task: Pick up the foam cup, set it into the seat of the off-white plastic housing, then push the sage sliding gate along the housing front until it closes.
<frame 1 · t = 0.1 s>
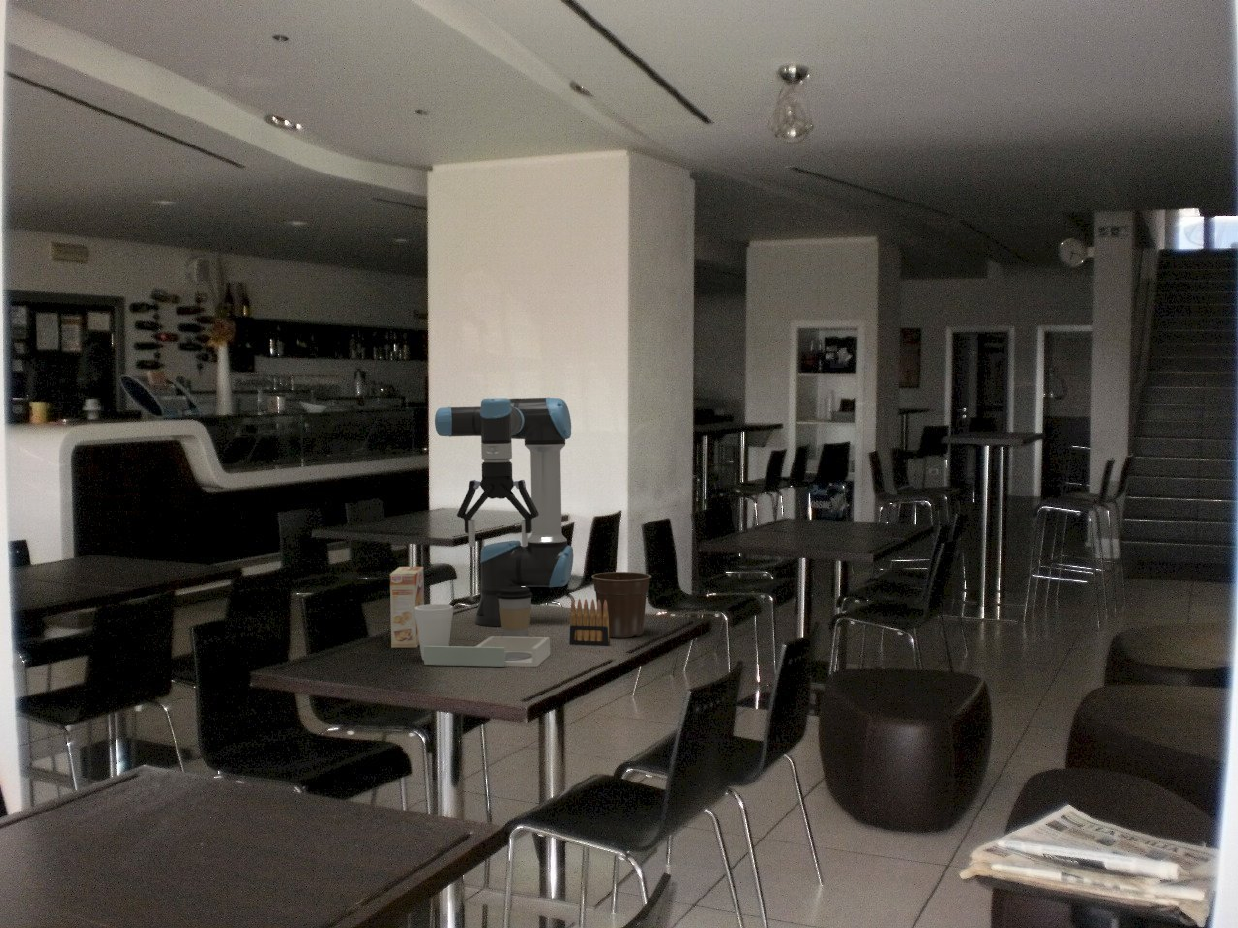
hand: (498, 546, 307), 28 cm above the table, fingers open, 13 cm apart
coffee cup: (515, 646, 323), on the table
coffeecake box: (408, 643, 330), on the table
foam cup: (434, 659, 308), on the table
gate: (464, 656, 299), point 2 cm above the table, slide at 10.0 cm
plant pot: (622, 634, 337), on the table
ammunition clip: (589, 645, 324), on the table
housing: (512, 660, 305), on the table
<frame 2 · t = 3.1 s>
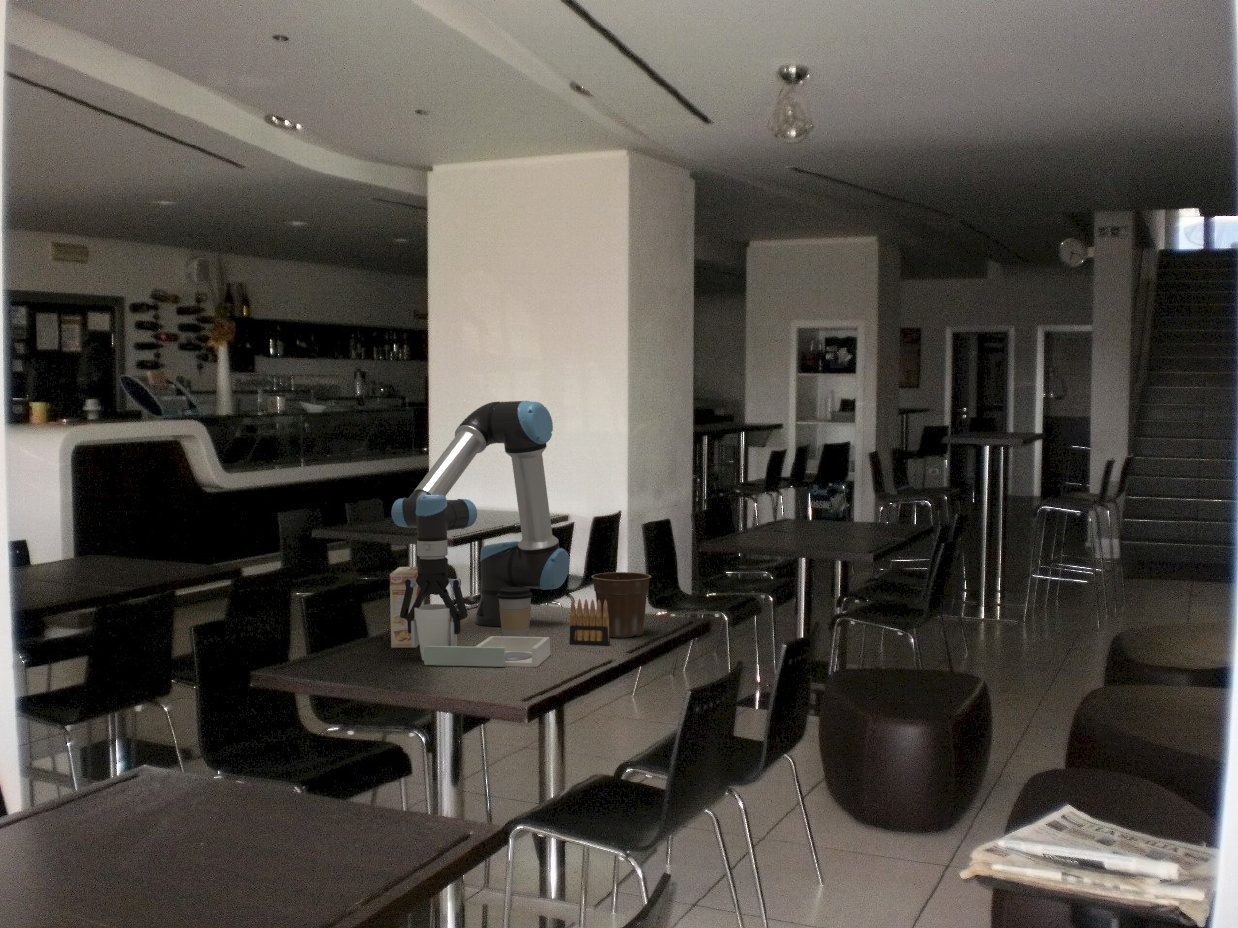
hand: (434, 646, 308), 3 cm above the table, fingers closed on foam cup, 9 cm apart
foam cup: (434, 659, 308), on the table, touching gripper
everything else where it was.
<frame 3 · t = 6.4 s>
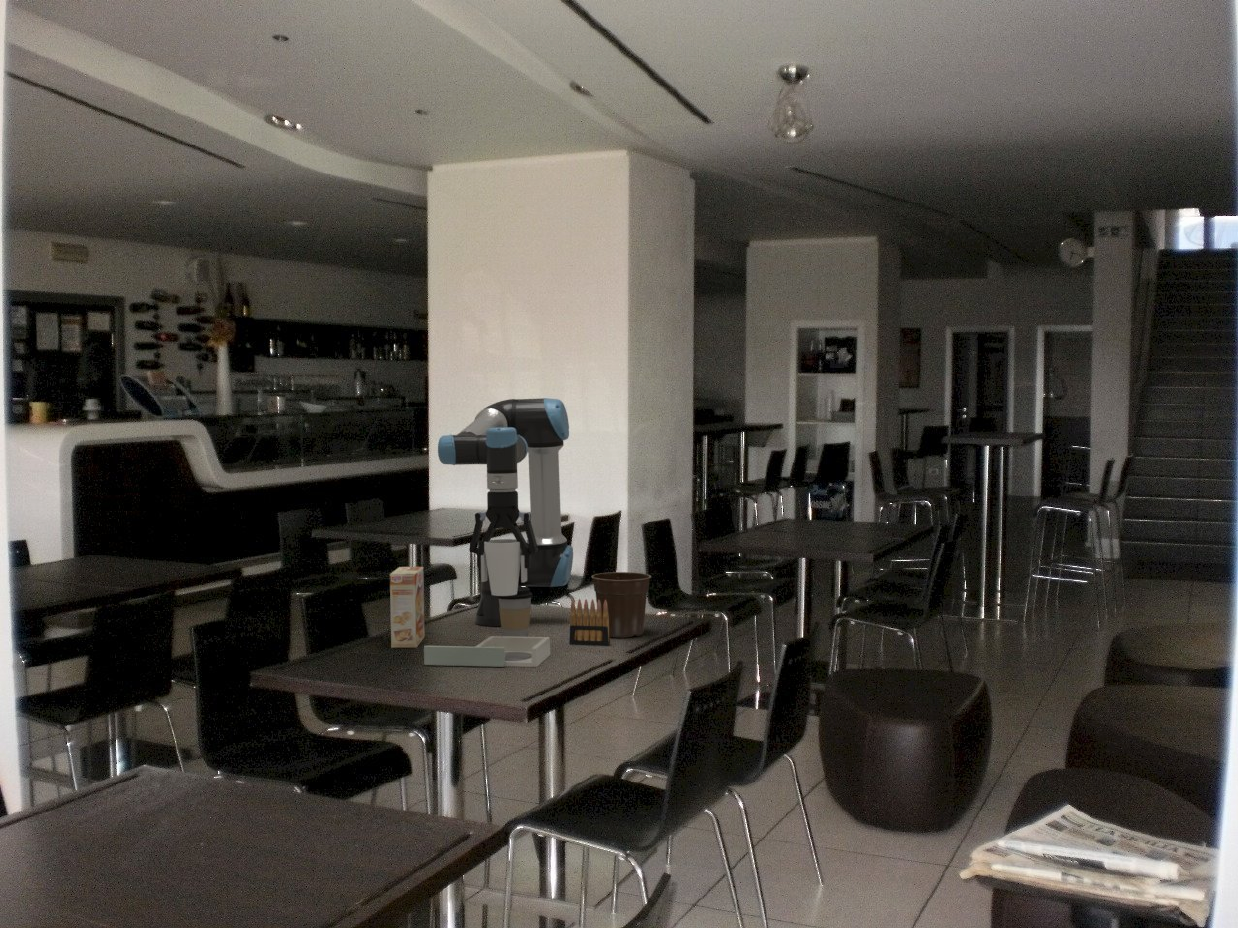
hand: (504, 581, 304), 20 cm above the table, fingers closed on foam cup, 9 cm apart
foam cup: (504, 594, 304), point 16 cm above the table, touching gripper
everything else where it was.
when the fingers open (6 cm above the table, at t = 9.7 s): foam cup drops 2 cm, resting on housing.
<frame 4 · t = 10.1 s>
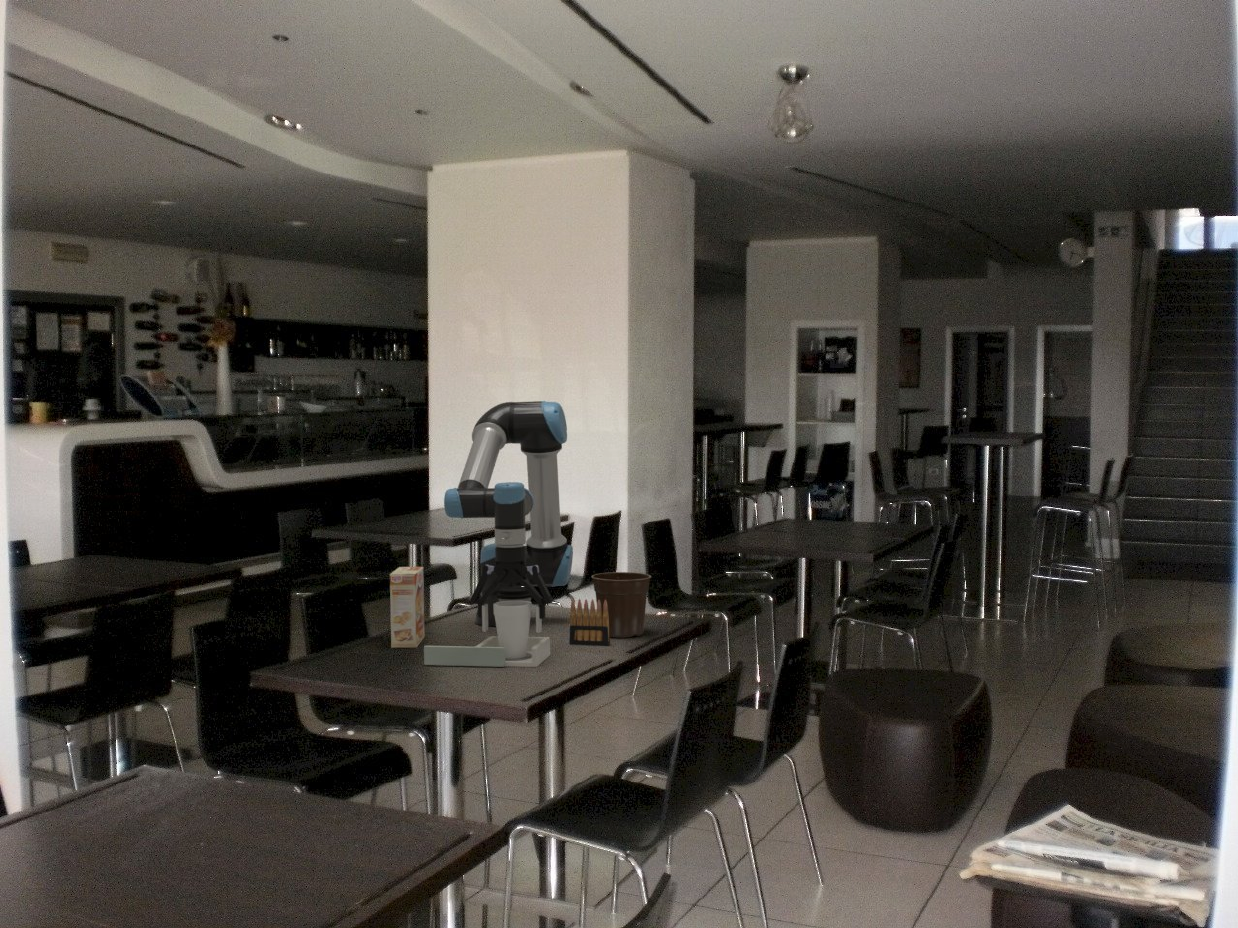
hand: (512, 631, 304), 7 cm above the table, fingers open, 13 cm apart
foam cup: (513, 656, 305), point 1 cm above the table, touching housing
everything else where it was.
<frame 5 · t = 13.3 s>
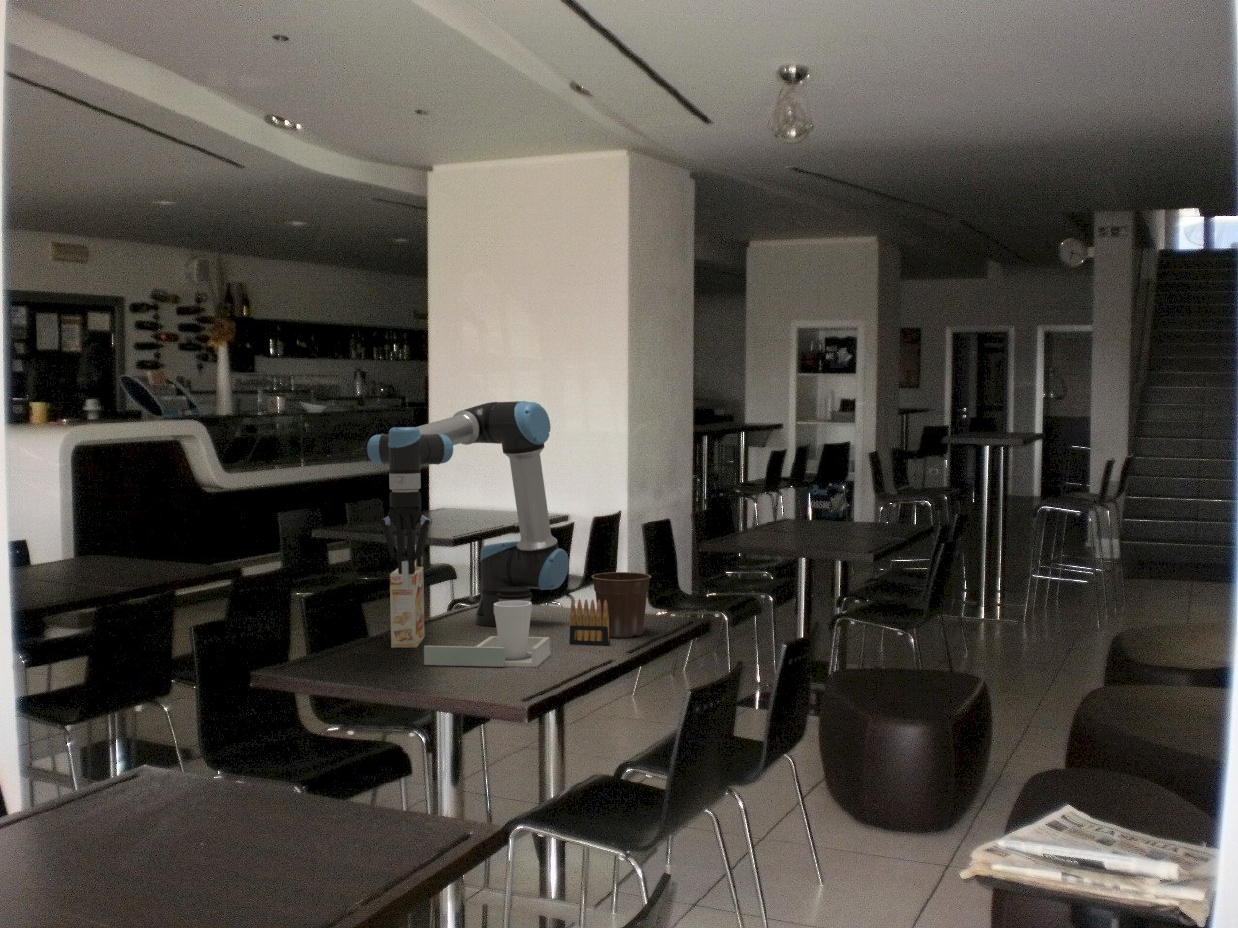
hand: (407, 587, 301), 19 cm above the table, fingers closed
nothing on the table moved.
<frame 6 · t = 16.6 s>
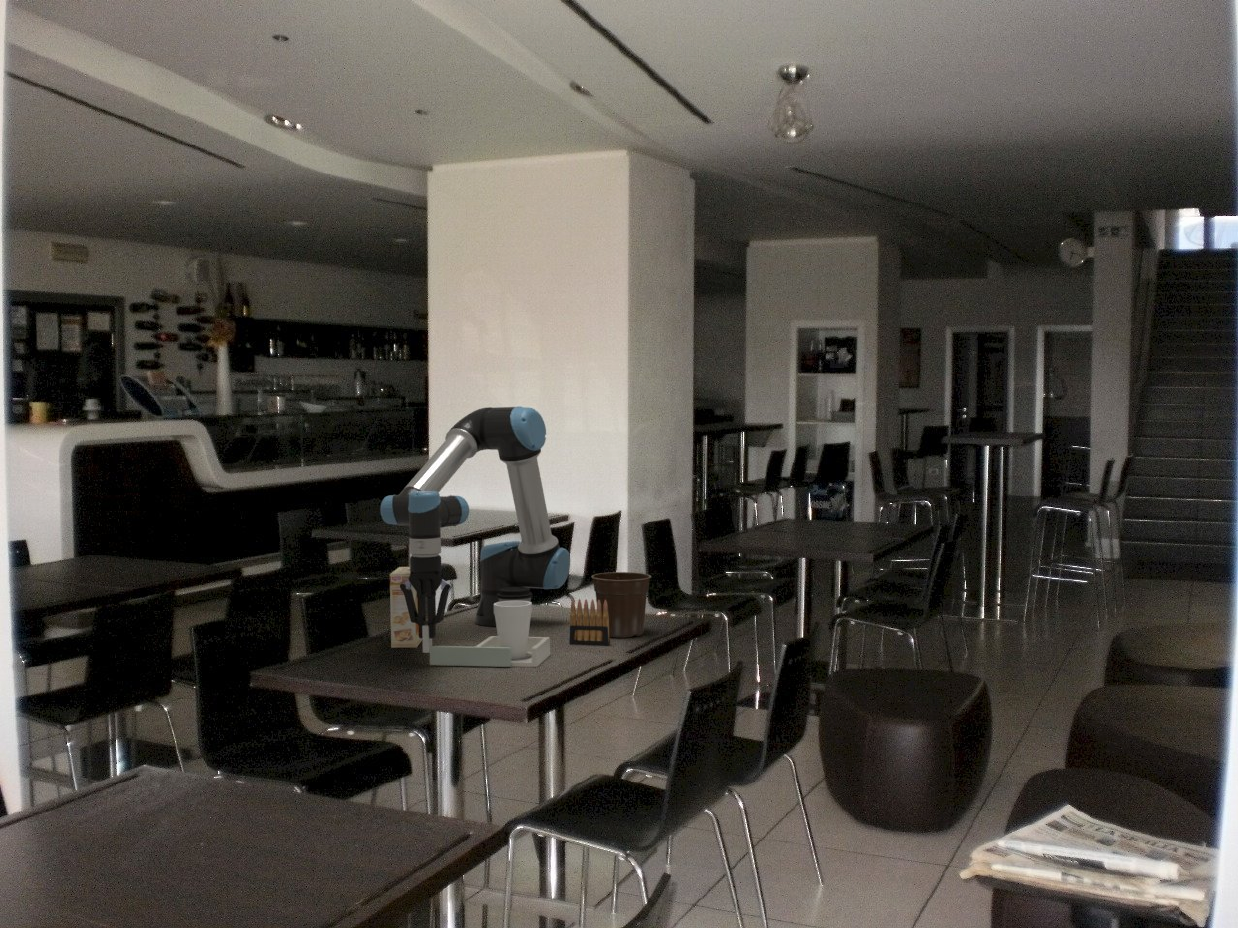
hand: (427, 651, 301), 3 cm above the table, fingers closed
gate: (470, 656, 299), point 2 cm above the table, slide at 8.5 cm, touching gripper
everything else where it was.
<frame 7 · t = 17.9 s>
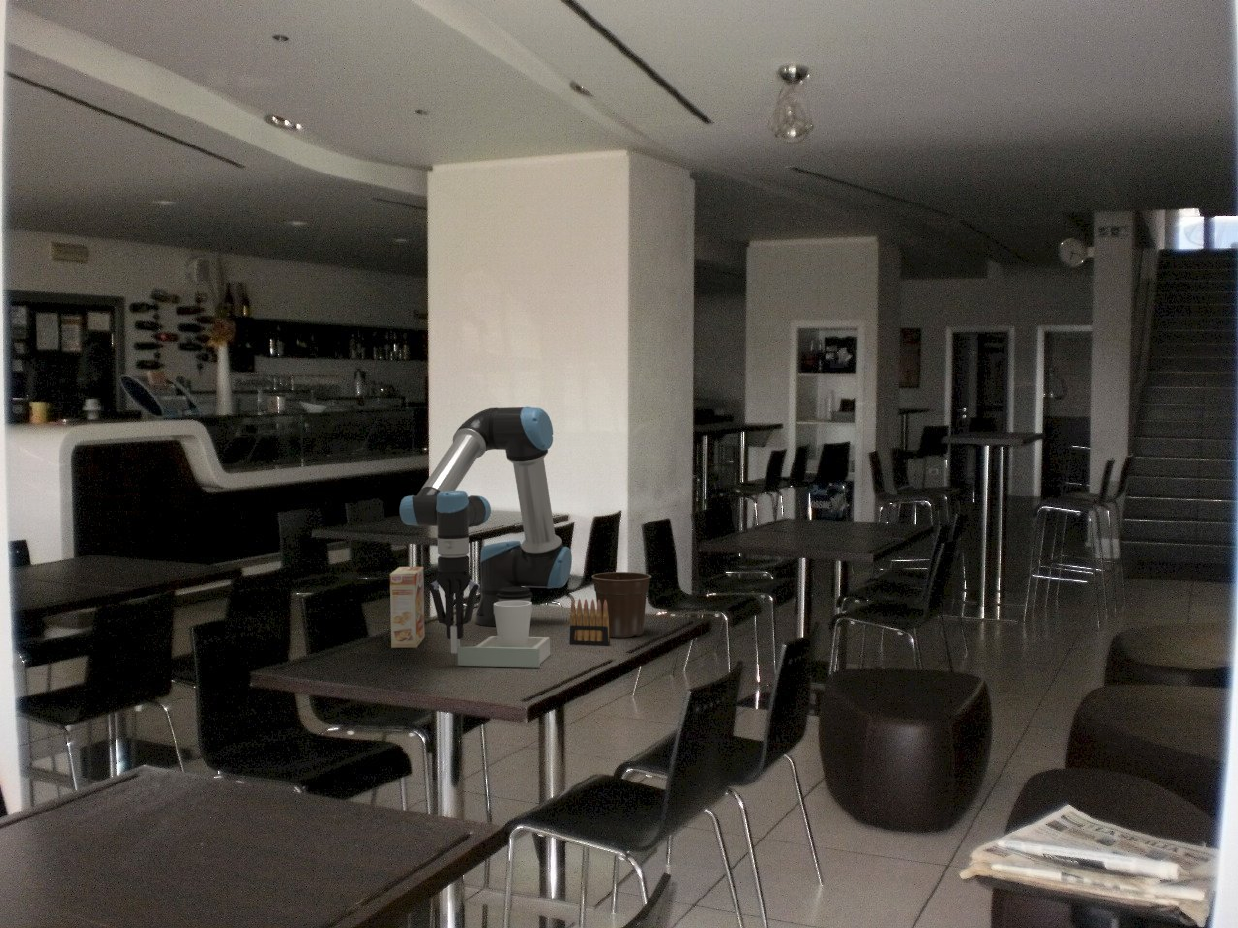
hand: (455, 651, 299), 3 cm above the table, fingers closed
gate: (498, 656, 297), point 2 cm above the table, slide at 1.5 cm, touching gripper
everything else where it was.
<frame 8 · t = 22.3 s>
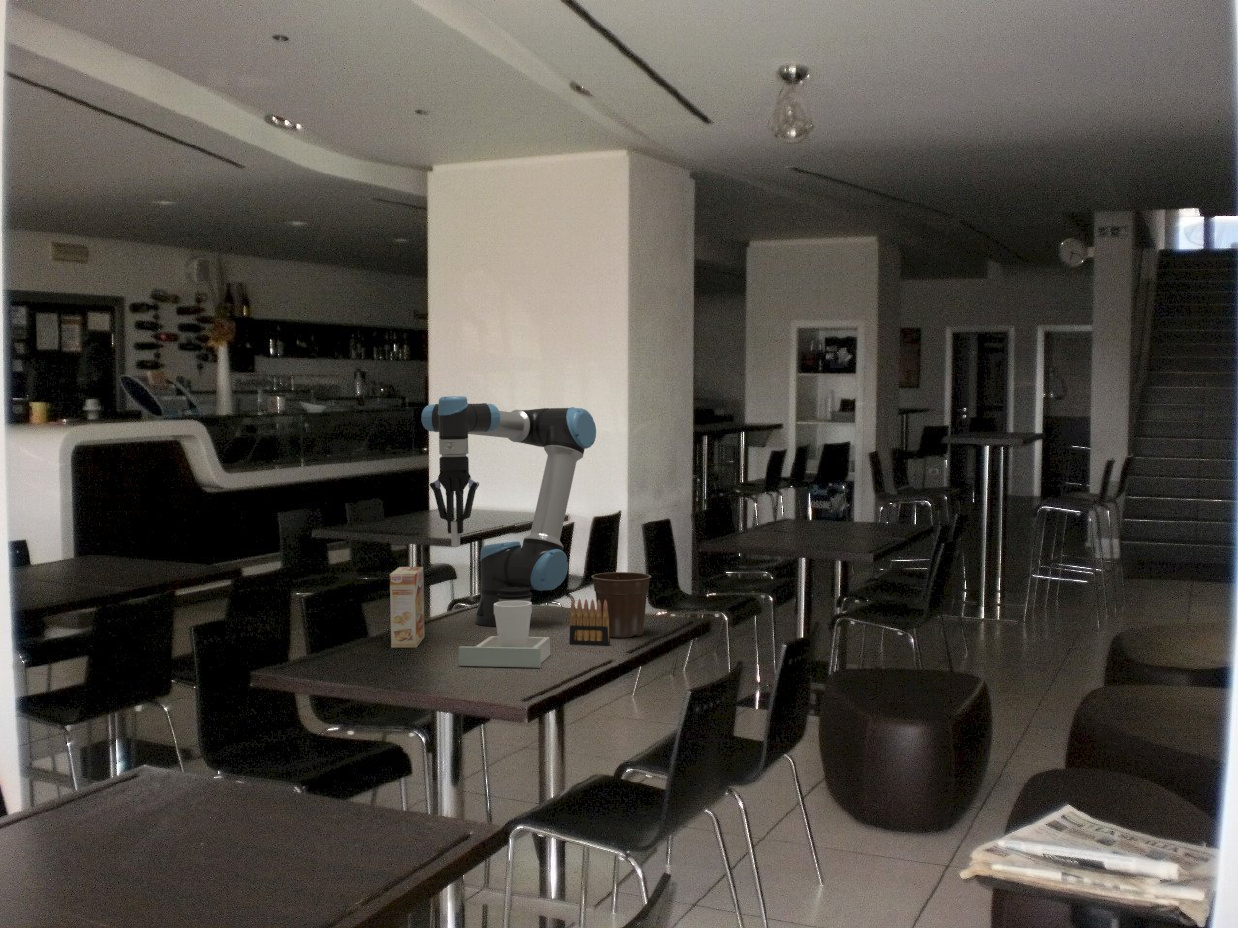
hand: (455, 545, 322), 26 cm above the table, fingers closed
gate: (499, 656, 297), point 2 cm above the table, slide at 1.2 cm
everything else where it was.
at the end: foam cup 0.3 cm off-centre on the housing, point 1.0 cm above the housing's base; foam cup tilted 0°; gate slide at 1.2 cm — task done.
